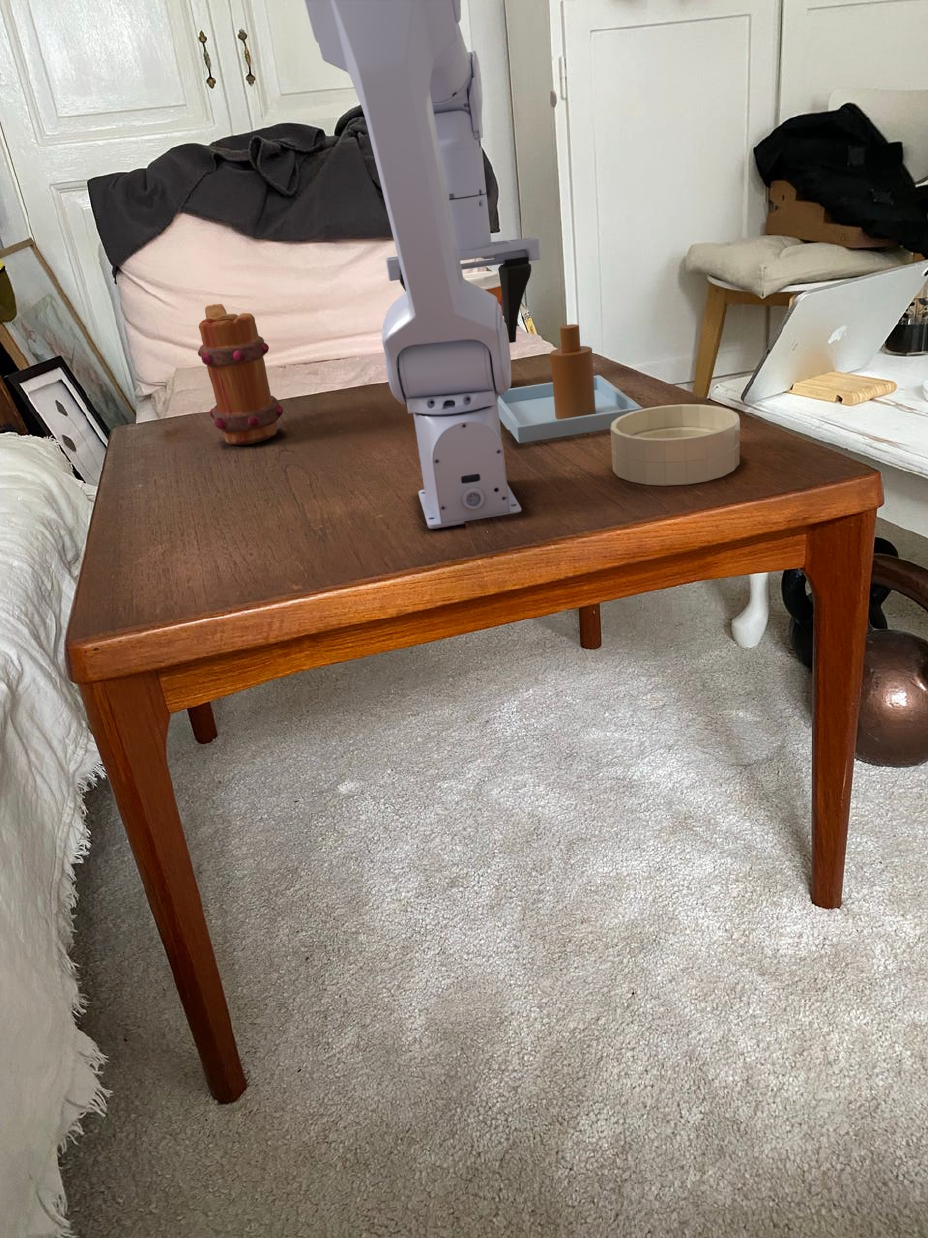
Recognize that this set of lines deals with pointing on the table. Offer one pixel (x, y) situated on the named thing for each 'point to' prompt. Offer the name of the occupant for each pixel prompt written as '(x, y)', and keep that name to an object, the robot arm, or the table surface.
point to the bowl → (675, 444)
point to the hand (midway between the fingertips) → (472, 346)
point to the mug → (238, 376)
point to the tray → (535, 411)
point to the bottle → (572, 376)
